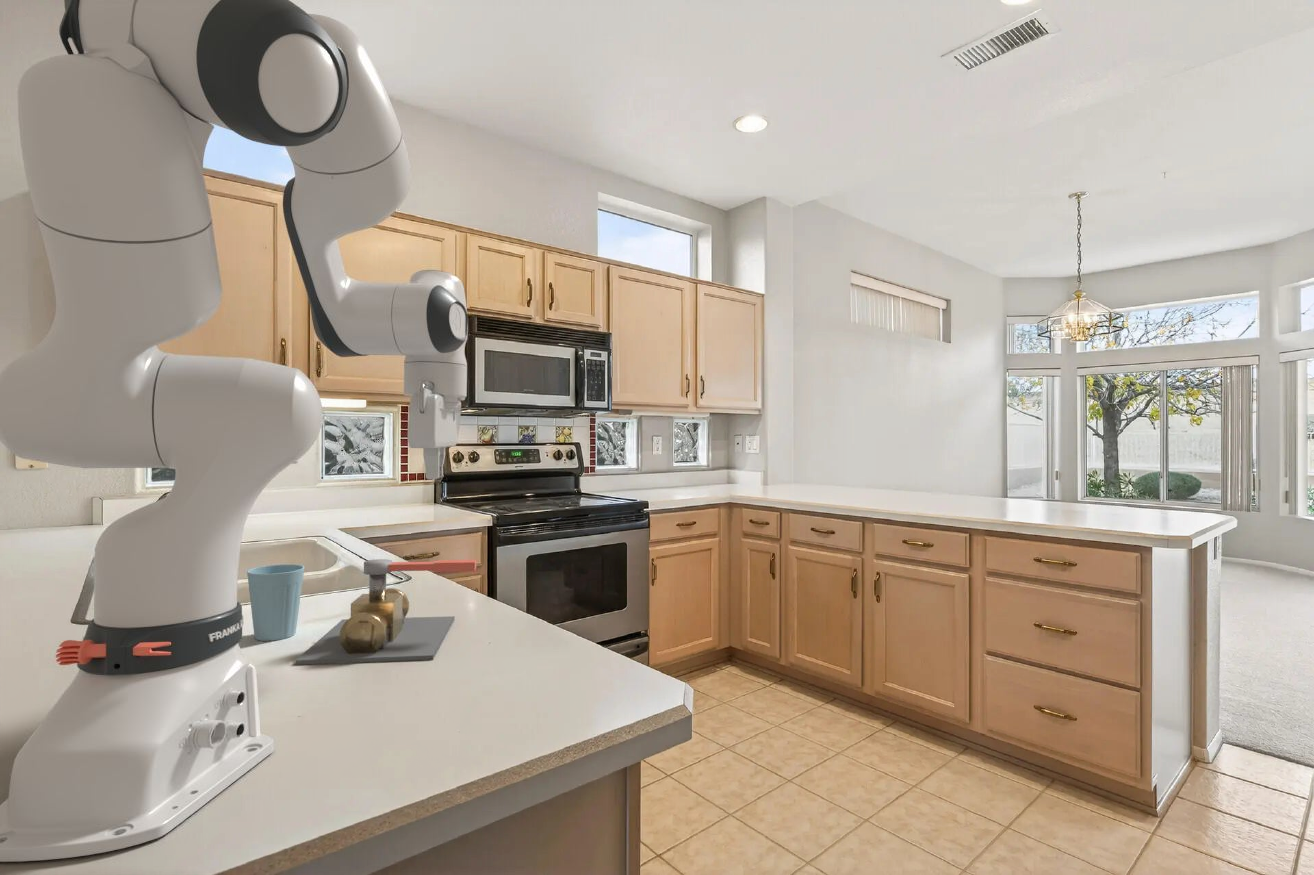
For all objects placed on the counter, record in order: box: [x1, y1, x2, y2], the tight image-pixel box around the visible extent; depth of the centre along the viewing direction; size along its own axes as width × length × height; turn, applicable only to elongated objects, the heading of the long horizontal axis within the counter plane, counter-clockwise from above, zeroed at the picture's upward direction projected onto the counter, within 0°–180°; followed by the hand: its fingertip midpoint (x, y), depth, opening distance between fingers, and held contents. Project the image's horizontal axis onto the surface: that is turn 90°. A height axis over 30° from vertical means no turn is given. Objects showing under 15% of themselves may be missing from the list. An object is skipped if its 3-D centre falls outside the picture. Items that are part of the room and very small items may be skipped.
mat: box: [294, 616, 455, 666], centre depth 100 cm, size 20×18×1 cm
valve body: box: [340, 574, 410, 654], centre depth 100 cm, size 16×6×10 cm, turn 9°
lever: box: [363, 558, 477, 576], centre depth 101 cm, size 16×4×2 cm, turn 99°
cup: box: [246, 563, 305, 642], centre depth 101 cm, size 8×8×10 cm
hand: (434, 478), depth 96 cm, fingers closed
